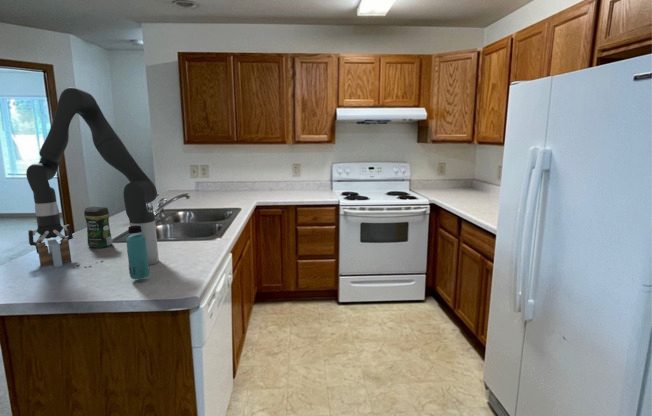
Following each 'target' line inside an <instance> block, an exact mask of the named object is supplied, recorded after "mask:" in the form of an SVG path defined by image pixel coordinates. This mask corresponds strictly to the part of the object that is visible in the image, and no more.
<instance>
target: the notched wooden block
mask: <svg viewBox="0 0 652 416" xmlns="http://www.w3.org/2000/svg"><path fill="white" fill-rule="evenodd" d="M69 241H70V240H68V239H62V238H60V243H59V242H58V243H59V245H60V252H61V259H62V264H63V263H66V262H72V255H71V249H70V242H69ZM46 244H47V243H46V242H45V241H42V242H41V243H37V247H38V253H39V254H38V253H37V254H38V259H39V265H40V267H48V266H52V265H54V263H53V258H52V253H51V252H49V247H48V245H46Z"/></svg>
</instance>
